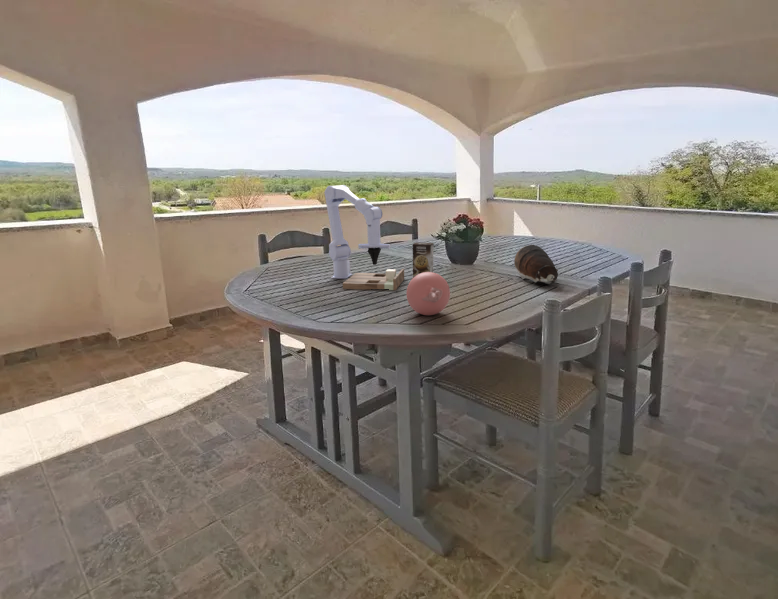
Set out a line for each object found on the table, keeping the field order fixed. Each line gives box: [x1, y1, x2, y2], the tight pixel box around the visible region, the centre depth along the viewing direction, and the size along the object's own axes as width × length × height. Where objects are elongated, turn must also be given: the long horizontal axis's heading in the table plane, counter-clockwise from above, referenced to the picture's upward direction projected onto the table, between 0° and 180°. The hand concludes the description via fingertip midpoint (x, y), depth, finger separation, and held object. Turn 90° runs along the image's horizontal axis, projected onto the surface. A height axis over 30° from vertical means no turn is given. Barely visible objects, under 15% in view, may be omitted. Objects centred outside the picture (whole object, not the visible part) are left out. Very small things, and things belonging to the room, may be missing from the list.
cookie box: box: [412, 241, 435, 278], centre depth 220 cm, size 9×6×16 cm
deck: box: [342, 268, 405, 291], centre depth 209 cm, size 21×24×5 cm
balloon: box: [405, 271, 451, 316], centre depth 159 cm, size 15×20×15 cm
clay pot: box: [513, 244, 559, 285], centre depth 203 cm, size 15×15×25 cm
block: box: [385, 268, 397, 280], centre depth 207 cm, size 4×4×4 cm
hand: (374, 264), depth 207 cm, fingers closed
